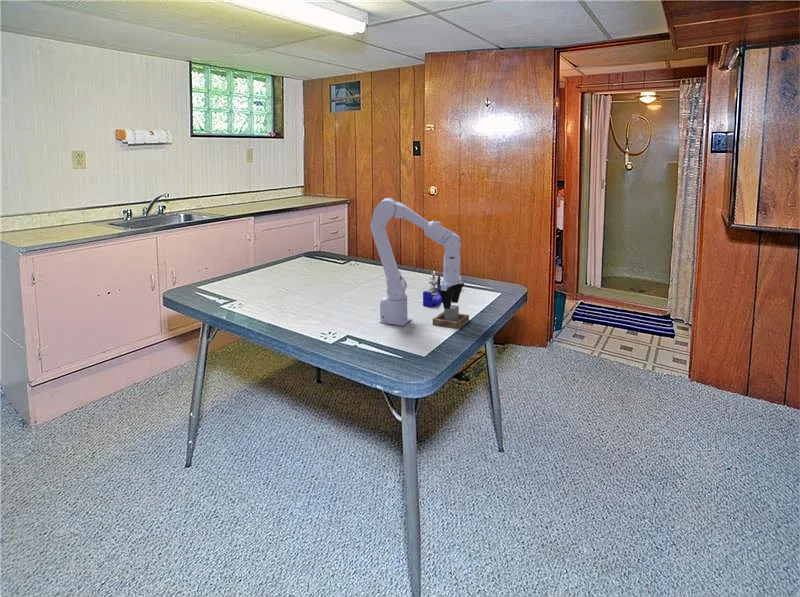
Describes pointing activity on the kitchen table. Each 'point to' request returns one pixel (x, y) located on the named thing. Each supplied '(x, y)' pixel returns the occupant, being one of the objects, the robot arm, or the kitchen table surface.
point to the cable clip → (431, 299)
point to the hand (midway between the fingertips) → (450, 305)
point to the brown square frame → (440, 322)
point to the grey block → (452, 313)
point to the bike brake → (434, 284)
